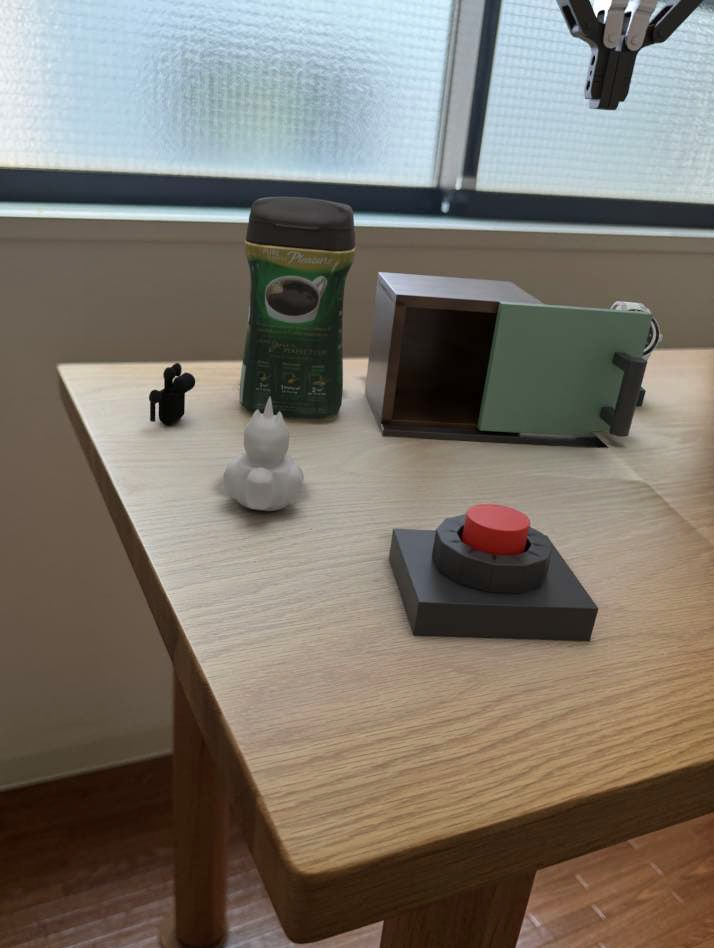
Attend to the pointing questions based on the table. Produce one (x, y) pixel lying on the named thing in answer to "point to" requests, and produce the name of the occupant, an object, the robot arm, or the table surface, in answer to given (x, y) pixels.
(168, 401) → the wireless earbuds
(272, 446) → the white toy figurine
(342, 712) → the table surface
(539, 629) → the button box
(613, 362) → the sliding door
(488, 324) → the cabinet
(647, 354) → the watch
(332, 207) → the coffee jar
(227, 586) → the table surface
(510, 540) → the button
